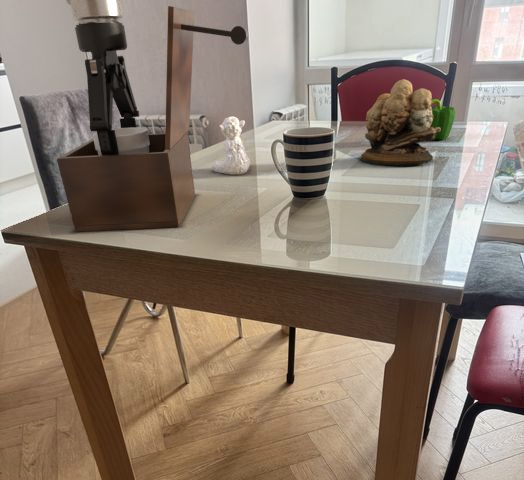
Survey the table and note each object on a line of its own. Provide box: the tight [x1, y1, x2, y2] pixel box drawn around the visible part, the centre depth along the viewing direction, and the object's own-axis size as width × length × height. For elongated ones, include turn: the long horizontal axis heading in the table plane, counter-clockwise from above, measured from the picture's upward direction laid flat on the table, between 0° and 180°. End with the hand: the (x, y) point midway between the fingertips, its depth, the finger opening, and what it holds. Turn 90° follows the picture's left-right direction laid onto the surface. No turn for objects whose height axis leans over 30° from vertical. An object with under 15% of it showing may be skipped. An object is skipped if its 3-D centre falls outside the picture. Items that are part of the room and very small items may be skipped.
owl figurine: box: [360, 78, 441, 167], centre depth 115 cm, size 18×12×17 cm, turn 57°
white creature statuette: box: [211, 115, 251, 176], centre depth 116 cm, size 10×9×12 cm
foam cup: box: [92, 127, 150, 155], centre depth 91 cm, size 10×9×13 cm
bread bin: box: [56, 131, 196, 233], centre depth 92 cm, size 18×20×12 cm
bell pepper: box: [430, 98, 456, 141], centre depth 136 cm, size 8×8×10 cm
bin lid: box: [164, 5, 249, 150], centre depth 83 cm, size 19×20×11 cm
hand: (124, 163), depth 90 cm, fingers open, 13 cm apart
